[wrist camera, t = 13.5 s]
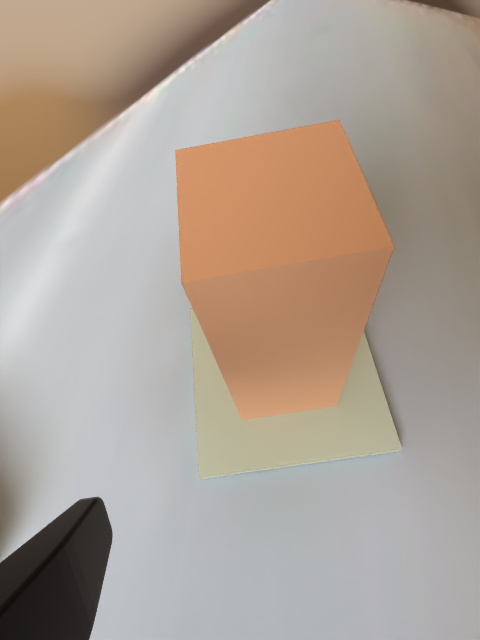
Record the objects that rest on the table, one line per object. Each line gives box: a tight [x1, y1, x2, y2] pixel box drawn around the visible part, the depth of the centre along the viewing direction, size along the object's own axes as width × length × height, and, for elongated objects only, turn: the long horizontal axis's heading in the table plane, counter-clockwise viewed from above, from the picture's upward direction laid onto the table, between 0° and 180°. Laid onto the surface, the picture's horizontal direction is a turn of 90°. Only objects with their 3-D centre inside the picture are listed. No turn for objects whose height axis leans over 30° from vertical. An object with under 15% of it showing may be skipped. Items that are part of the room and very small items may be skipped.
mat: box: [190, 308, 402, 479], centre depth 17 cm, size 8×8×1 cm
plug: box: [175, 120, 394, 420], centre depth 12 cm, size 4×4×10 cm
